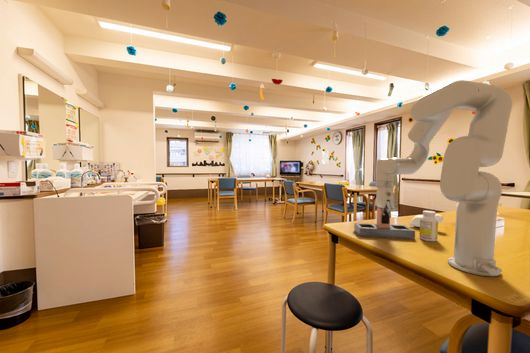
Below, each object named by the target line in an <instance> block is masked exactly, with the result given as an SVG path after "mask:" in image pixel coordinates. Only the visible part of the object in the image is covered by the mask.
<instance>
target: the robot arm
mask: <svg viewBox="0 0 530 353" xmlns="http://www.w3.org/2000/svg"><path fill="white" fill-rule="evenodd" d="M453 110H459V111H471V112H474V113H475V114H474V116H473V117H472V118H471V121H470V124H469V130H468V133H467V134H468V135H462V136H458V137H457V138H455V139H453V140H452V141H451V142H450V143H449V144H448V145H447V147H446V149H445V152H444V153H443V154H444V156H443V161H442V167H441V173H440V180H439V189H440V191H441V194H442V195H443V196H444V197H445V198H446V199H448V200H449V201H451V202H457V203H458V204H457V206H456V211H455V225H454V226H455V230H454V247H453V248H454V252H453V256H450V257H448V258H447V263H448V264H449V265H450V266H451V267H453V268H455V269H457V270H460V271H463V272H465V273H469V274H472V275H478V276H485V277H498V276H500V275H501V273H502V272H503V270H502V268H500V267H498V266H497V260H495V249H496V248H495V247H496V246H495V245H496V244H495V243H496V229H497V214H498V207H499V203H500V199H501V195H502V192H503V191H502V190H503V187H502V182H501V181H500V179H499V177H497V176H496V175H494V174H493V173H490V172H487V171H482V170H479V169H480V168H487V167H493V166H494V165H497V164H498V163H499V162H500V161H501V160H502V158H503V155H504V154H503V153H504V151H505V150H504V149H505V145H506V144H505V143H506V139H507V133H508V129H509V128H508V127H509V121H510V117H511V113H512V110H513V98H512V95H511V94H510V92H509V91H507V90H506V89H505V88H502V87H499V86H496V85H492V84H488V83H483V82H476V81H471V80H466V79H464V80H463V79H462V80H455V81H451V82H449V83H446V84H445V85H443V86H441V87H438V88H437V89H435V90H433V91H431V92H429V93H427V94H424V95H423V96H421V97H420V98H418V99H416V101H415V102H414V103H413V104H412V105H411V107H410V109H409V116H410V118H411V119H412V120H414V121H415V122H414V123H413V125H412V127H411V128H410V130H409V132H408V133H407V138H408V139H409V141H411V142H413V143H414V147H413V150H412V151H411V153H410V154H409V156H408V157H391V158H378V159H377V160H376V168H375V188H376V196H375V205H376V206H377V207H380V208H382V212H383V215H382V224H389V216H390V217H391V211H392V210H393V209H394V208H395V204H394V203H395V199H394V198H395V196H394V182H395V180H394V178H395V175H396V176H397V175H398V176H400V175H404V176H405V175H413V174H415V173H416V172H418V171H419V170H420V169H421V167H423V165H424V164H425V162H426V161H427V160H428V157H429V153H430V144H431V142H432V141H433V139H434V138H435V136H436V135H437V133H438V132H439V131H440V130H441V128H442V127H443V126H444V125H445V123H446V122H447V120H448V119H449V117H451V114H452V113H453ZM384 208H387V209H384Z"/></svg>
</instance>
